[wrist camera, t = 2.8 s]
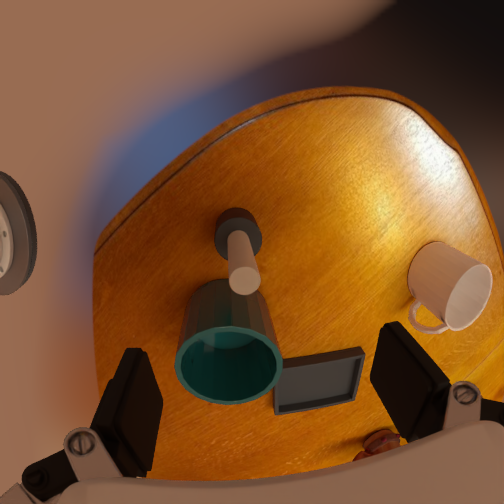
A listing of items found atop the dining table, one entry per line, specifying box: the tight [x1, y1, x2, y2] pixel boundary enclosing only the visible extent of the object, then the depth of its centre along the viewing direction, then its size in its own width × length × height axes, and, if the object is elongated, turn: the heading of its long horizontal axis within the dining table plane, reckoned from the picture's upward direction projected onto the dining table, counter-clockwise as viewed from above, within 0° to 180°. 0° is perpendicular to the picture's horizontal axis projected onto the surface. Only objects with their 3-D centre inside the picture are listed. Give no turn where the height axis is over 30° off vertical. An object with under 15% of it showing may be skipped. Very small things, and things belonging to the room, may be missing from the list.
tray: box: [273, 347, 365, 415], centre depth 39 cm, size 13×10×2 cm
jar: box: [174, 279, 283, 405], centre depth 30 cm, size 10×10×10 cm
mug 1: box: [352, 430, 400, 462], centre depth 41 cm, size 15×8×15 cm, turn 76°
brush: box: [214, 208, 262, 295], centre depth 25 cm, size 4×4×14 cm
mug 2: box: [408, 241, 492, 334], centre depth 32 cm, size 12×9×9 cm
